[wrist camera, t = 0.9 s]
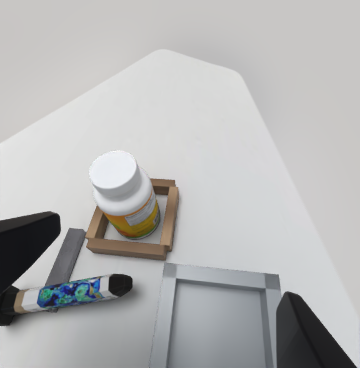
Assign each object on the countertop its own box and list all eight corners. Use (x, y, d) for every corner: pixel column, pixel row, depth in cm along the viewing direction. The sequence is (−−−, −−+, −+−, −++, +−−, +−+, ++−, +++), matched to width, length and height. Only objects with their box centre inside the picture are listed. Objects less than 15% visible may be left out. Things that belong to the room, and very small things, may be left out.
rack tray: (284, 430, 15) (302, 451, 13) (149, 406, 16) (141, 420, 14) (268, 281, 21) (278, 274, 18) (167, 269, 22) (164, 262, 19)
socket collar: (170, 260, 22) (168, 255, 21) (89, 252, 23) (81, 246, 22) (179, 189, 27) (178, 180, 26) (112, 184, 28) (107, 175, 27)
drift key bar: (56, 312, 20) (50, 311, 19) (40, 310, 20) (34, 309, 20) (86, 232, 25) (82, 229, 24) (73, 231, 25) (69, 228, 24)
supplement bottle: (108, 213, 26) (70, 162, 18) (146, 191, 27) (127, 135, 19) (128, 249, 23) (93, 209, 15) (169, 223, 25) (157, 173, 17)
